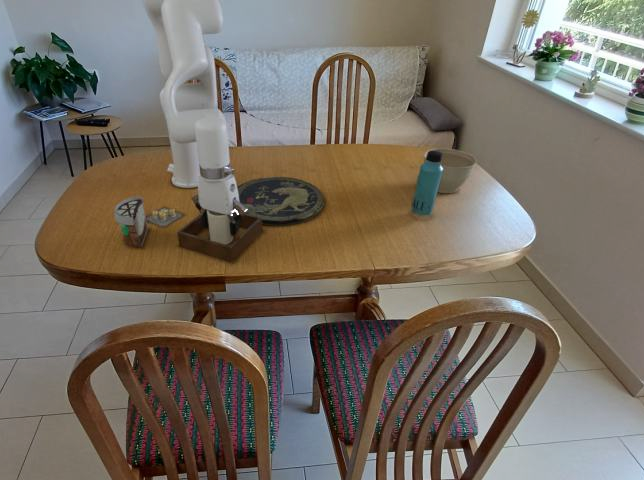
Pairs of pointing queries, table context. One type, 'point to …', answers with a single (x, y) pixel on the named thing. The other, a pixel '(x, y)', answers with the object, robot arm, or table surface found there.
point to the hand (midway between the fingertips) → (221, 229)
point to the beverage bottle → (427, 184)
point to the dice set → (163, 217)
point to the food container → (132, 220)
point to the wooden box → (215, 248)
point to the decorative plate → (280, 200)
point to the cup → (219, 227)
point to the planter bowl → (454, 169)
